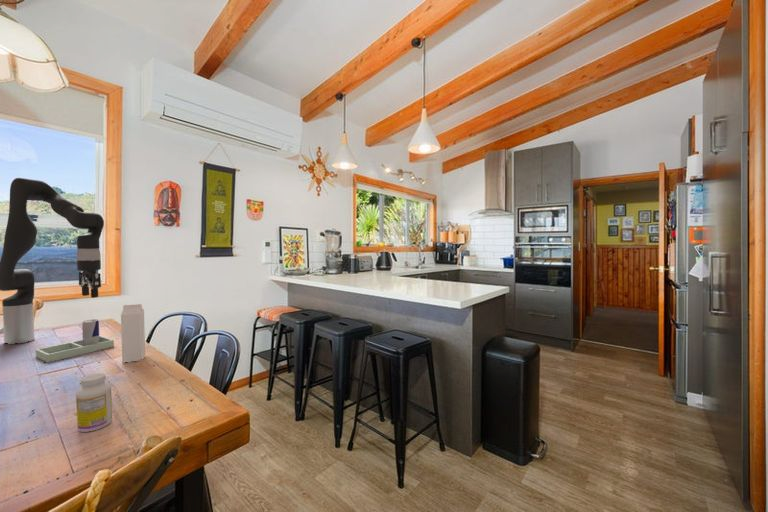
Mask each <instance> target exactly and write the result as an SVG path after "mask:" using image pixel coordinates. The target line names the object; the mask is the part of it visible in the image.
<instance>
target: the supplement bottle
mask: <svg viewBox="0 0 768 512" xmlns="http://www.w3.org/2000/svg"><path fill="white" fill-rule="evenodd" d="M105 381H106V374H105V373H102V372H101V373H100V372H99V373H93V374H88V375H86V376H84V377H82V378H80V385H81V387H80V388H79V389H78V390H77V391H76V393H75V401H76V404H75V405H76V420H77V421H76V422H77V425H76V426H77V430H78V431H79V432H82V433H89V431H90V432H95V431H98V430H101V429H103V428H105V427H106V426H108V425H109V424H110V423H111V422H112V421H113V406H112V405H113V404H112V403H113V402H112V386H111V384H110V383H109V382H105Z"/></svg>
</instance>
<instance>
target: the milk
mask: <svg viewBox="0 0 768 512" xmlns="http://www.w3.org/2000/svg"><path fill="white" fill-rule="evenodd" d="M122 307H123V308H122V311H121V313H120V327H121V329H120V331H121V332H120V333H121V358H122V360H121V363H122V364H126V363H125V362H128V363H132V362H131V361H137V362H139V361H138V360H141V359H142V358H143V357H144V356H145V357H146V336H145V335H146V334H145V333H146V332H145V329H146V328H145V310H144V308H143V305H142V304H141V303H140V304H137V303H135V304H125V305H123V306H122ZM145 357H144V358H145ZM144 358H143V359H144ZM143 359H142V360H143ZM142 360H141V361H142Z"/></svg>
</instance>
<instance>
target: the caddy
mask: <svg viewBox="0 0 768 512" xmlns="http://www.w3.org/2000/svg"><path fill="white" fill-rule="evenodd" d="M99 339H100V343H96V344H92V345H87V346H83V339H80V340H75V341H71V342H70V341H69V342H66V343H65V342H64V343H60V344H56V345H50V346H46V347H41V348H38V349H37V348H36V349H35V357H36V358H38V359H40V360H42V361H44V362H46V363H51V361H52V362H54V361H55V360H56V361H59V360H64V359H67V358H72V357H76V356H81V355H85V354H89V353H93V352H98V351H101V349H102V350H106V349H110V348H113V346H114V347H115V340H114V339H111V338H109V337H106V336H103V335H99ZM109 347H110V348H109ZM97 350H98V351H97Z"/></svg>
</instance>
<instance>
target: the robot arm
mask: <svg viewBox="0 0 768 512" xmlns="http://www.w3.org/2000/svg"><path fill="white" fill-rule="evenodd" d="M28 201H32V202H33V201H34V202H36V201H37V202H40V201H41V202H45V203H47V204H50V207H51V210H53V211H54V213H55V214H57V215H59V216H61V217H62V218H64V219H65V220H67V222H68V223H69V224H70V225H71V226H72V227H74V228H76V229H80V230H87V231H86V233H85V234H84V233H83V234H80V235H78V236H77V237H76V238H77V239H76V245H77V246H76V248H77V249H76V270H77V271H79V272H78V286H80V287H81V295H82V296H83V297H85V296H90V297H91V298H92V299H95V298H99V288H101V287H102V281H101V280H102V279H101V277H102V276H101V273H98V272H97V271H100V270H101V269H102V268H101V267H102V264H101V263H102V262H101V258H102V256H101V250H100V239H101V235H102V232H103V228H104V225H105V220H104V218H103V216H102V215H101V214H99V213H95V212H85V211H84V209H83V208H82V206H79V205H78V204H76V203H75V202H72V201H71V200H69V199H67V198H66V197H64V196H62V194H60V193H59V192H58V191H57V190H56V189H54V188H53V187H52V186H51V185H50V184H48V183H47V182H45V181H43V180H41V179H40V180H39V179H33V178H31V179H30V178H25V177H24V178H23V177H17V178H14V179H13V180H12V181H11V183H10V188H9V204H8V205H9V209H8V218H7V223H6V228H5V232H4V233H5V235H4V240H3V247H2V253H1V258H0V292H1V291H2V292H5V291H7V292H8V291H9V292H10V291H16V292H15V293H14V294H12V295H11V296H8V297H6V298H3V299H2V302H1V304H2V305H1V306H2V307H1V308H2V320H3V341H4V342H3V343H8V344H7V345H16V344H15V343H18V344H24V343H28V341H29V342H32V341H34V340H35V339H36V338H35V319H34V317H35V316H34V315H35V314H34V298H35V275H34V272H33V271H32V270H31V269H27V268H22V269H21V268H19V269H16V266H17V264H18V262H19V261H20V260H21V258H23V256H25V255H26V254H27V253H28V252H30V250H31V249H32V248H33V247H34V246H35V244H36V242H37V241H36V240H37V235H38V229H37V226H36V224H35V223H34V221H33V219H32V218H31V217H30V216H29V213H28V211H27V209H28V208H27V207H28V206H27V205H28Z"/></svg>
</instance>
